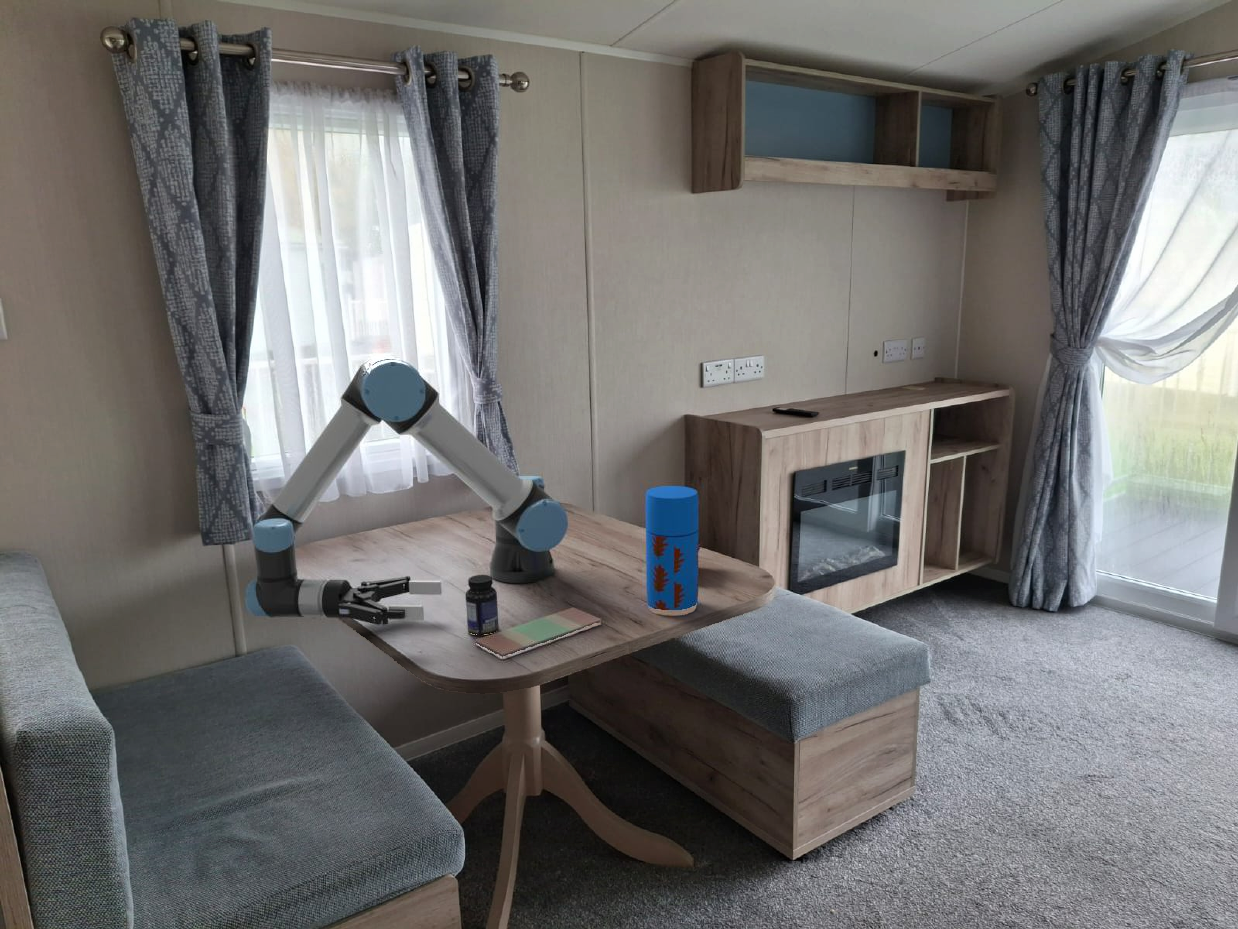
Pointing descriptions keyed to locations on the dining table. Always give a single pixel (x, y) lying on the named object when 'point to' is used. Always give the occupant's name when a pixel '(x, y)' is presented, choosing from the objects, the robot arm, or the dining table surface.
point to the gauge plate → (537, 631)
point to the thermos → (672, 547)
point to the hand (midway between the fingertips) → (432, 599)
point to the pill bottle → (481, 605)
